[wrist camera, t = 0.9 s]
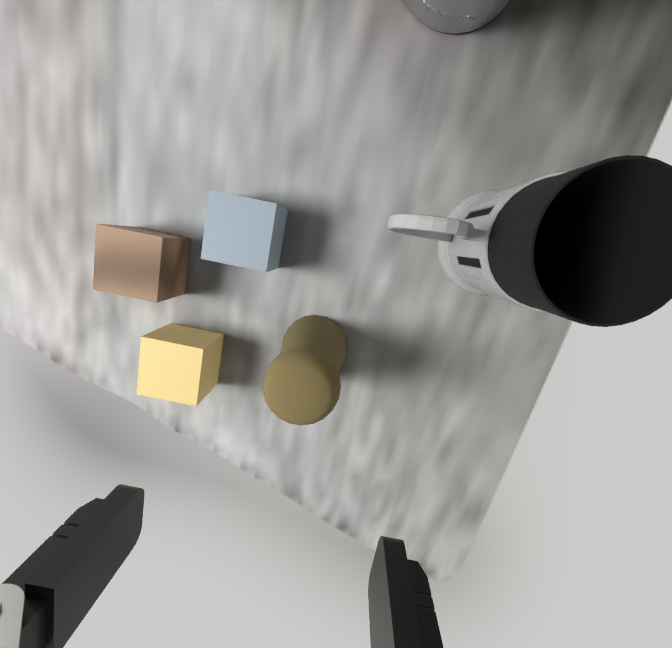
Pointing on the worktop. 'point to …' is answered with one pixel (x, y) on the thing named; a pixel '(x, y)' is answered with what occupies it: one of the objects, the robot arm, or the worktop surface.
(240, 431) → the worktop surface
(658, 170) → the glass holder
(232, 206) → the slate block
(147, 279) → the walnut block
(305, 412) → the cork
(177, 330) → the mustard block
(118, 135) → the worktop surface
